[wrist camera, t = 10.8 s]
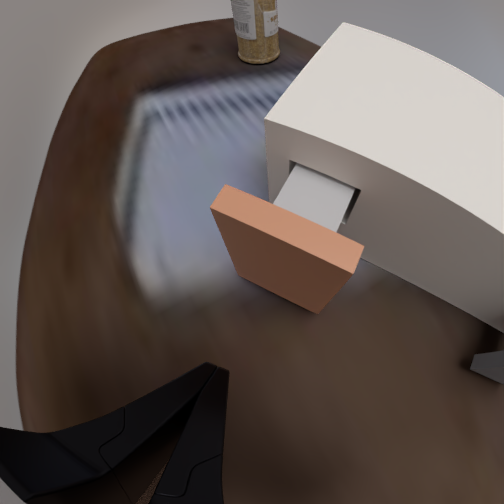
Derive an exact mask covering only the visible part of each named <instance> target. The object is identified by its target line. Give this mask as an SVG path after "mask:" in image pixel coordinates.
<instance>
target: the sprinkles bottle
mask: <svg viewBox="0 0 504 504" xmlns="http://www.w3.org/2000/svg"><path fill="white" fill-rule="evenodd" d="M231 5H232V11H233V18H234V24H235V31H236V34H237V40H238V47H239V51H238V56H239V58H240V59H241V60H243V61H245V62H248V63H252V64H264V63H268V62H271V61H273V60H275V59H276V58H278V56H279V54H280V50H279V47H278V15H277V0H231Z"/></svg>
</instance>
